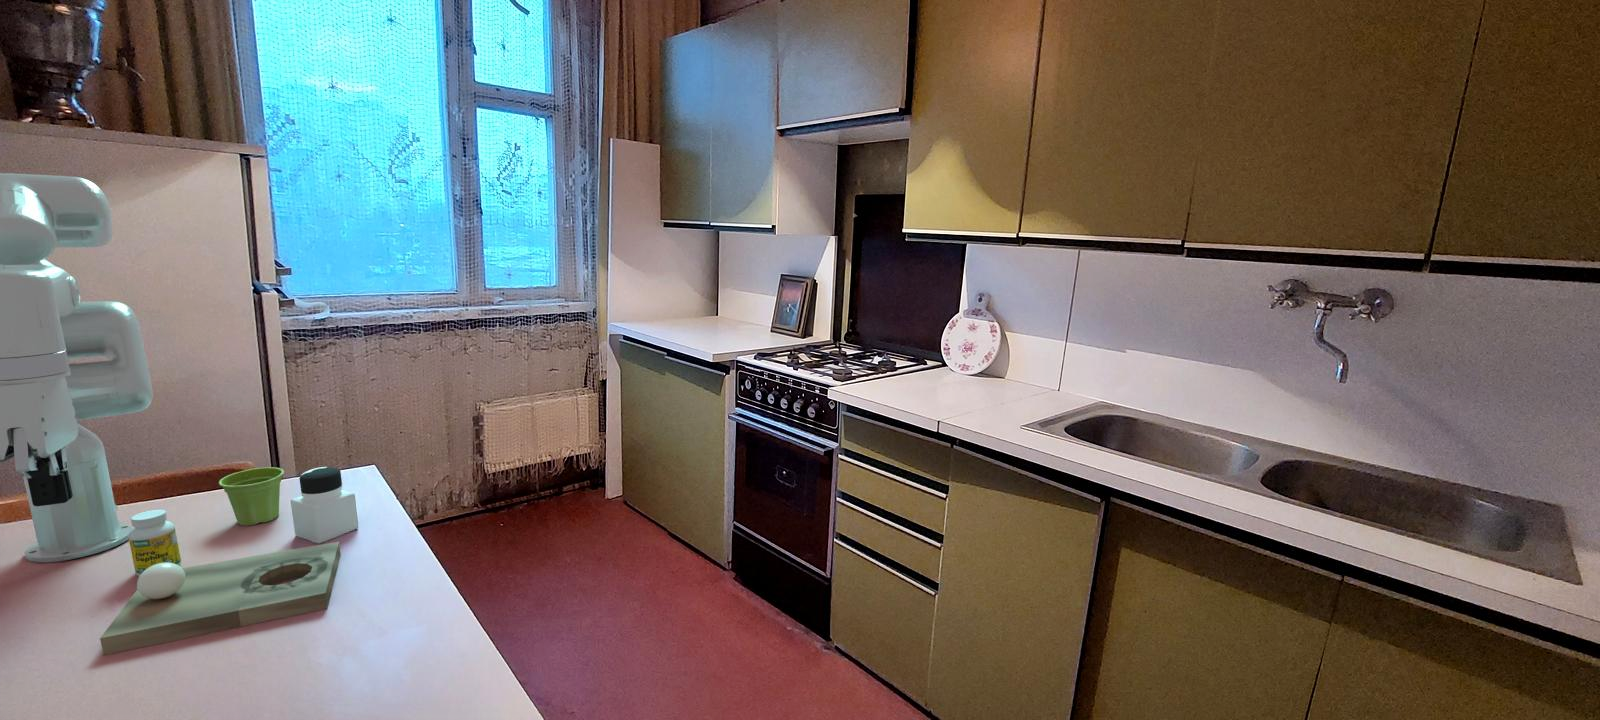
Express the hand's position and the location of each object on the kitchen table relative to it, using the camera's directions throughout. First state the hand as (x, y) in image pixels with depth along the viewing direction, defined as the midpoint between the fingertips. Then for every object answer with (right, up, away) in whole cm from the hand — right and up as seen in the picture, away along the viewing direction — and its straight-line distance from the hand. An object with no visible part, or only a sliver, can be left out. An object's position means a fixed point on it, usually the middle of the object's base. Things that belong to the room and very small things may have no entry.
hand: (53, 502), depth 87 cm
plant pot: (-4, -12, +38) cm, 40 cm away
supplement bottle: (-5, -15, +19) cm, 25 cm away
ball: (+7, -13, +7) cm, 16 cm away
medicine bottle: (+12, -13, +34) cm, 38 cm away
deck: (+14, -17, +12) cm, 25 cm away
